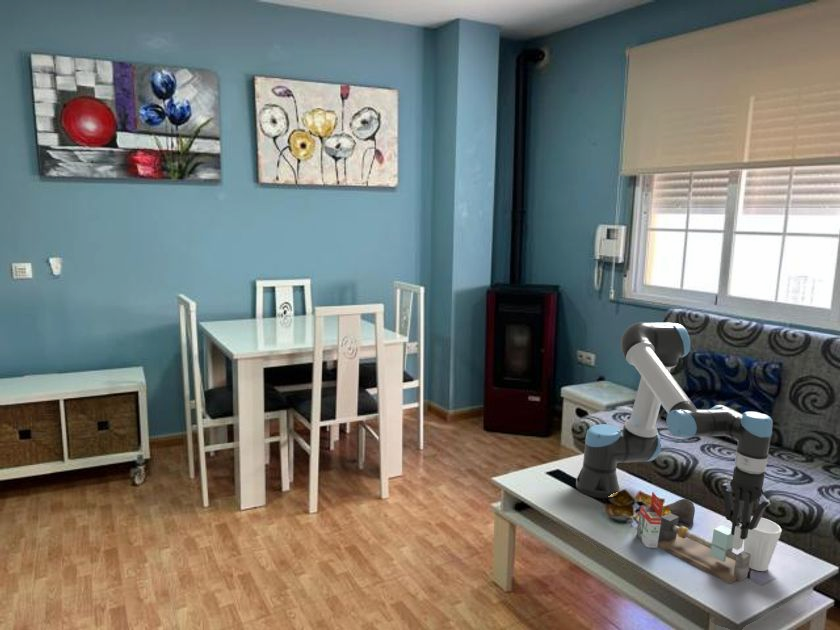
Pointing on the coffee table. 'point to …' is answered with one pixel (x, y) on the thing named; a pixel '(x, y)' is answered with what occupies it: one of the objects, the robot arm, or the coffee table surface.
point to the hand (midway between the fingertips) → (737, 547)
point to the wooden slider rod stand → (700, 551)
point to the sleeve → (721, 542)
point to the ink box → (650, 522)
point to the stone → (683, 510)
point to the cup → (762, 543)
